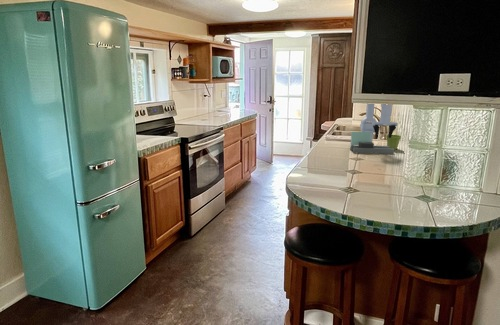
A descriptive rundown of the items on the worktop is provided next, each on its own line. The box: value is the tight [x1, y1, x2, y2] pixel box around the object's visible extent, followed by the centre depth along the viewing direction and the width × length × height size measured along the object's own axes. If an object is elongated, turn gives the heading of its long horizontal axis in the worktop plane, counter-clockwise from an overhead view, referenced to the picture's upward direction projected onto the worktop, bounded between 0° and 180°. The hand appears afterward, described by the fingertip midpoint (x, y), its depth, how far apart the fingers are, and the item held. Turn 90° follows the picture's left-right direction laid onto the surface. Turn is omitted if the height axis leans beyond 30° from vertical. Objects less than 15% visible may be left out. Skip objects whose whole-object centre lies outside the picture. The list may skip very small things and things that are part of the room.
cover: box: [350, 131, 370, 146], centre depth 216 cm, size 8×12×1 cm
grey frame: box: [349, 144, 395, 155], centre depth 213 cm, size 11×24×6 cm, turn 89°
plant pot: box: [385, 133, 402, 150], centre depth 222 cm, size 9×9×9 cm
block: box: [358, 141, 375, 148], centre depth 212 cm, size 4×8×6 cm, turn 90°
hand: (383, 137), depth 205 cm, fingers open, 7 cm apart
